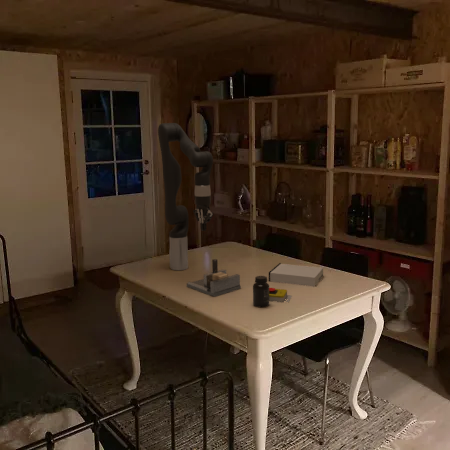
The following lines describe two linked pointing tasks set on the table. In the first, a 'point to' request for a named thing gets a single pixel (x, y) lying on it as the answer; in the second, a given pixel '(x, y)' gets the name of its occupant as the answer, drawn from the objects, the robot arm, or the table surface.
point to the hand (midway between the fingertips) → (203, 230)
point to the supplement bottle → (261, 292)
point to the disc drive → (296, 274)
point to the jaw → (209, 276)
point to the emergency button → (278, 295)
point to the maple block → (219, 276)
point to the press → (217, 285)
